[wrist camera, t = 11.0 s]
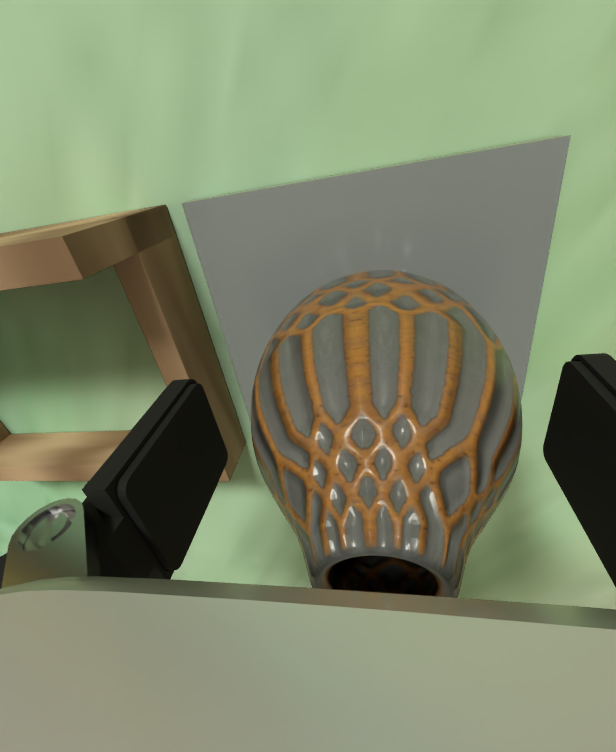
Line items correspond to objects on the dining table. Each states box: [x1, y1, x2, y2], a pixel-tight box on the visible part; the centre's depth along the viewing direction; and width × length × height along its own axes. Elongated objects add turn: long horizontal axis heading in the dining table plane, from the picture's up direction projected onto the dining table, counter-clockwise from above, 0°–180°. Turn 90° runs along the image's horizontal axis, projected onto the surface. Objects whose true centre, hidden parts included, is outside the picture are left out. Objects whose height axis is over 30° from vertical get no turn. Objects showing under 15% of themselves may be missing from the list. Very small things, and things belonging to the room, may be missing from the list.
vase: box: [251, 270, 522, 598], centre depth 9 cm, size 7×7×9 cm
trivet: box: [182, 135, 571, 421], centre depth 13 cm, size 11×11×1 cm
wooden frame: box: [0, 205, 246, 481], centre depth 15 cm, size 15×11×5 cm
